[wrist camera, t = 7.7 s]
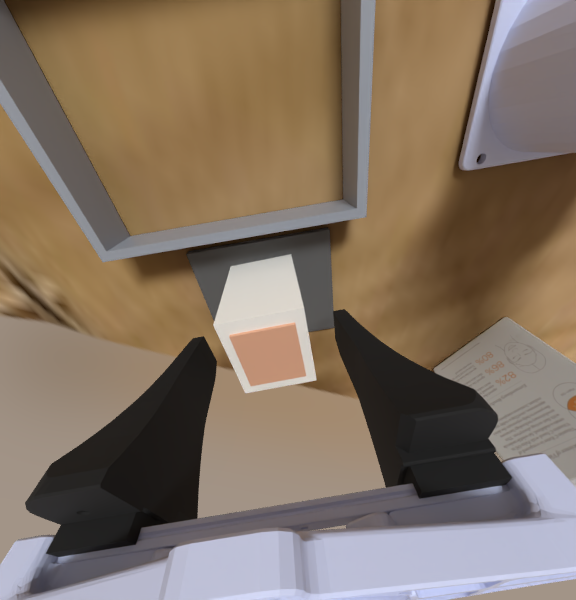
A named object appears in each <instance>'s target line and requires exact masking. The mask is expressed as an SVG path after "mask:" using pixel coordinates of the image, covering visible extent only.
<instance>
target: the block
mask: <svg viewBox="0 0 576 600" xmlns="http://www.w3.org/2000/svg"><path fill="white" fill-rule="evenodd" d="M213 326H214V328H215V330H216V332H217V334H218V336H219V338H220V340H221V343H222V345H223V347H224V349H225V351H226V353H227V355H228V357H229V360H230V362H231V364H232V366H233V368H234V370H235V372H236V374H237V376H238V379H239V381H240V383H241V385H242V387H243V389H244V391H245V393H251V392H256V391H261V390H266V389H272V388H277V387H283V386H289V385H294V384H299V383H305V382H310V381H316V374H315V368H314V362H313V357H312V351H311V345H310V339H309V334H308V328H307V322H306V316H305V311H304V306H303V301H302V297H301V293H300V289H299V285H298V281H297V277H296V272H295V268H294V264H293V260H292V256H291V254H289V255H284V256H279V257H274V258H269V259H265V260H260V261H255V262H250V263H245V264H240V265H235V266H231V267H230V270H229V274H228V277H227V281H226V284H225V287H224V291H223V294H222V298H221V301H220V304H219V308H218V311H217V315H216V318H215V321H214V325H213Z"/></svg>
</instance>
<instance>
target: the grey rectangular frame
mask: <svg viewBox="0 0 576 600" xmlns="http://www.w3.org/2000/svg"><path fill="white" fill-rule="evenodd" d="M374 22H375V0H341V58H342V144H343V200H337V201H332V202H326V203H320V204H314V205H308V206H303V207H297V208H291V209H285V210H279V211H274V212H268V213H262V214H256V215H250V216H245V217H239V218H233V219H227V220H221V221H216V222H210V223H204V224H198V225H192V226H187V227H181V228H175V229H169V230H163V231H158V232H152V233H146V234H140V235H134V236H130V235H129V233H128V231H127V229H126V227H125V225H124V224H123V222H122V220H121V218H120V216H119V214H118V212H117V211H116V209H115V207H114V205H113V203H112V201H111V199H110V198H109V196H108V194H107V192H106V190H105V188H104V186H103V184H102V183H101V181H100V179H99V177H98V175H97V173H96V171H95V170H94V168H93V166H92V164H91V162H90V160H89V158H88V156H87V155H86V153H85V151H84V149H83V147H82V145H81V143H80V142H79V140H78V138H77V136H76V134H75V132H74V130H73V129H72V127H71V125H70V123H69V121H68V119H67V117H66V115H65V114H64V112H63V110H62V108H61V106H60V104H59V102H58V101H57V99H56V97H55V95H54V93H53V91H52V89H51V87H50V86H49V84H48V82H47V80H46V78H45V76H44V74H43V73H42V71H41V69H40V67H39V65H38V63H37V61H36V60H35V58H34V56H33V54H32V52H31V50H30V48H29V46H28V45H27V43H26V41H25V39H24V37H23V35H22V33H21V32H20V30H19V28H18V26H17V24H16V22H15V20H14V18H13V17H12V15H11V13H10V11H9V9H8V7H7V5H6V4H5V2H4V0H0V104H1V105H2V107H3V108H4V110H5V111H6V113H7V114H8V116H9V117H10V119H11V121H12V122H13V124H14V125H15V127H16V128H17V130H18V131H19V133H20V135H21V136H22V138H23V139H24V141H25V142H26V144H27V145H28V147H29V149H30V150H31V152H32V153H33V155H34V156H35V158H36V159H37V161H38V162H39V164H40V166H41V167H42V169H43V170H44V172H45V173H46V175H47V176H48V178H49V180H50V181H51V183H52V184H53V186H54V187H55V189H56V190H57V192H58V193H59V195H60V197H61V198H62V200H63V201H64V203H65V204H66V206H67V207H68V209H69V211H70V212H71V214H72V215H73V217H74V218H75V220H76V221H77V223H78V224H79V226H80V228H81V229H82V231H83V232H84V234H85V235H86V237H87V238H88V240H89V242H90V243H91V245H92V246H93V248H94V249H95V251H96V252H97V254H98V256H99V257H100V259H101V260H102V262H107V261H113V260H118V259H124V258H130V257H136V256H142V255H148V254H153V253H159V252H165V251H171V250H177V249H183V248H188V247H194V246H200V245H206V244H212V243H218V242H224V241H229V240H235V239H241V238H247V237H253V236H259V235H264V234H270V233H276V232H282V231H288V230H294V229H299V228H305V227H311V226H317V225H323V224H329V223H334V222H340V221H346V220H352V219H358V218H364V217H366V212H367V188H368V165H369V141H370V117H371V93H372V70H373V46H374Z"/></svg>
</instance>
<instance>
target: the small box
mask: <svg viewBox="0 0 576 600" xmlns="http://www.w3.org/2000/svg"><path fill="white" fill-rule="evenodd" d="M433 370H434V372H435V373H436V374H439V375H441V376H443V377H445V378H448V379H450V380H453V381H455V382H458V383H460V384H463V385H465V386H468V387H470V388H473V389H475V390H476V391H477V392H478V393H479V394H480V395H481V396H482V397H483V398H484V399H485V401H486V402H487V403H488V404H489V405H490V406H491V407H492V409H493V410H494V411H495V412H496V413H497V415H498V422H497V425H496V427H495V429H494V430H493V432H492V434H491V435H490V437H489V438H488V439H489V440H490V441H491V443H492V444H493V445H494V447H495V448H496V452H497V454H498V455H499V457H500V458H501V459H502V460H506V459H508V458H512V457H518V456H524V455H530V454H536V453H544V454H546V455H547V456H548V457H549V458H550V459H551V461H552V462H553V463H554V464H555V465H556V466H557V467H558V468H559V469H560V470H561V472H562V473H563V474H564V475H565V476H566V477H567V478H568V479H569V480H570V481H571V483H572V484H573V485H574V486H575V487H576V363H574V362H573V361H571V360H570V359H568V358H567V357H565V356H564V355H562V354H561V353H560V352H558V351H557V350H555V349H554V348H552V347H551V346H549V345H548V344H546V343H545V342H543V341H542V340H540V339H539V338H537V337H536V336H534V335H533V334H532V333H530V332H529V331H527V330H526V329H524V328H523V327H521V326H520V325H518V324H517V323H515V322H514V321H513V320H511V319H510V318H508V317H504V318H502V319H501V320H500V321H498V322H497V323H496V324H494V325H493V326H491V327H490V328H489V329H487V330H486V331H485V332H483V333H482V334H480V335H479V336H478V337H476V338H475V339H473V340H472V341H471V342H469V343H468V344H467V345H465V346H464V347H462V348H461V349H460V350H458V351H457V352H456V353H454V354H453V355H451V356H450V357H449V358H447V359H446V360H444V361H443V362H442V363H440V364H439V365H438V366H436V367H435V368H434V369H433Z"/></svg>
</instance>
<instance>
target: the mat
mask: <svg viewBox="0 0 576 600" xmlns="http://www.w3.org/2000/svg"><path fill="white" fill-rule="evenodd" d="M289 254H291V256H292V260H293V264H294V268H295V272H296V277H297V281H298V285H299V289H300V293H301V297H302V301H303V306H304V311H305V316H306V322H307V328H308V332H311V331H317V330H323V329H329V328H334V317H333V293H332V270H331V248H330V229H329V228H328V227H327V228H321V229H315V230H309V231H303V232H298V233H292V234H286V235H280V236H274V237H268V238H263V239H257V240H251V241H245V242H239V243H233V244H227V245H222V246H216V247H210V248H204V249H198V250H192V251H188V252H187V254H186V255H187V257H188V260H189V262H190V264H191V267H192V269H193V272H194V274H195V276H196V279H197V281H198V284H199V286H200V288H201V291H202V293H203V296H204V298H205V300H206V303H207V305H208V308H209V310H210V312H211V315H212V317H213V320H214V321H215V318H216V315H217V311H218V308H219V304H220V301H221V298H222V294H223V291H224V287H225V284H226V281H227V277H228V274H229V270H230V267H231V266H235V265H240V264H245V263H250V262H255V261H260V260H265V259H269V258H274V257H279V256H284V255H289Z"/></svg>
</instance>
